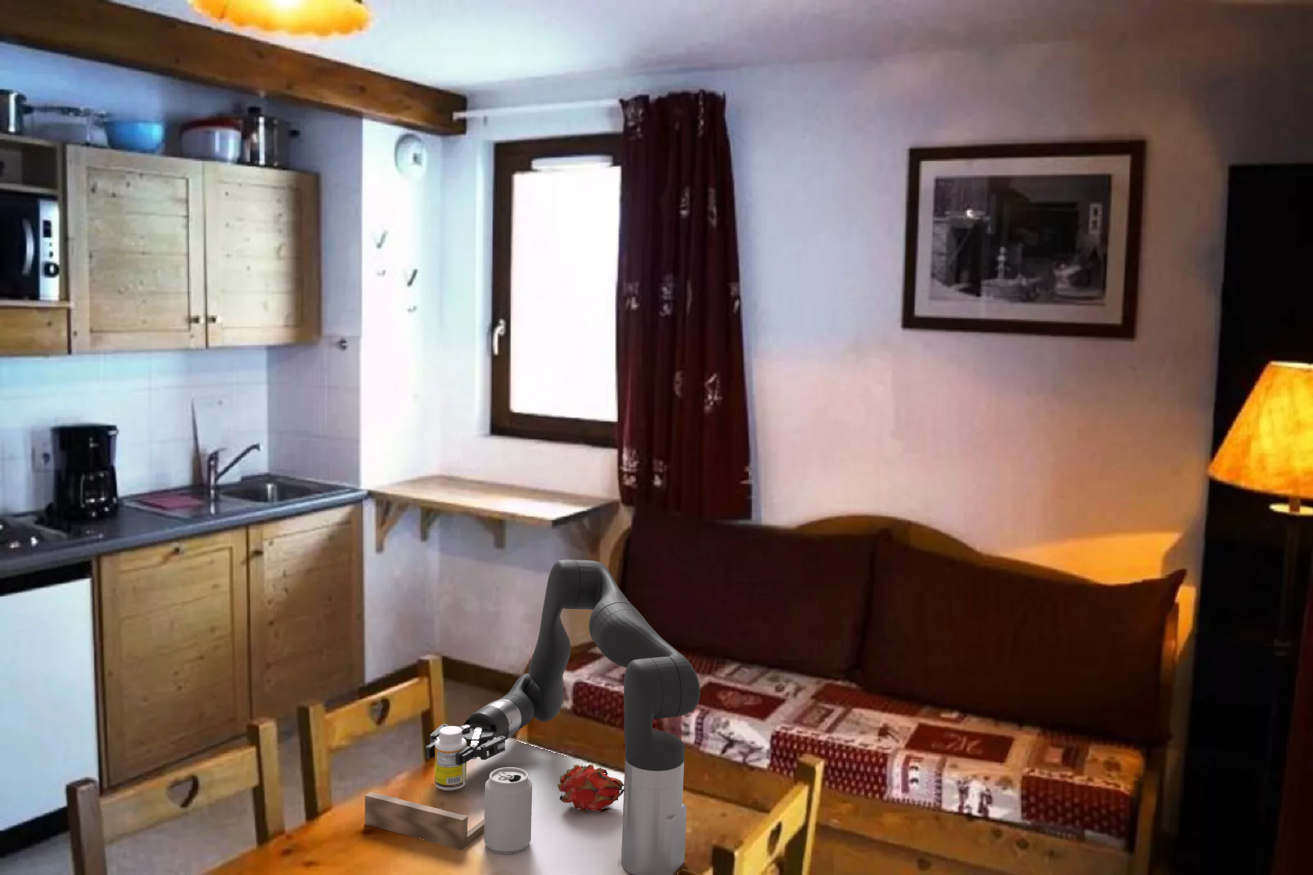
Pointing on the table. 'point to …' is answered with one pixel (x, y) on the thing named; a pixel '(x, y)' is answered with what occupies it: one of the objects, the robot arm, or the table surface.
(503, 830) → the can
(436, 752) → the supplement bottle
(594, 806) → the dragon fruit
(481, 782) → the table surface
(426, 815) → the l-shaped bracket
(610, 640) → the robot arm
